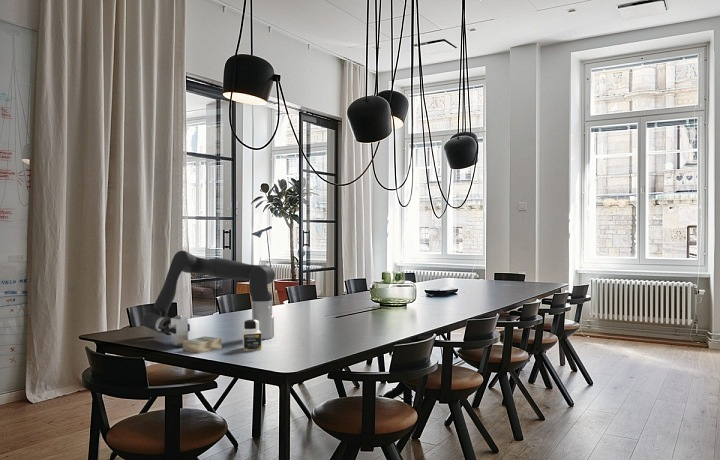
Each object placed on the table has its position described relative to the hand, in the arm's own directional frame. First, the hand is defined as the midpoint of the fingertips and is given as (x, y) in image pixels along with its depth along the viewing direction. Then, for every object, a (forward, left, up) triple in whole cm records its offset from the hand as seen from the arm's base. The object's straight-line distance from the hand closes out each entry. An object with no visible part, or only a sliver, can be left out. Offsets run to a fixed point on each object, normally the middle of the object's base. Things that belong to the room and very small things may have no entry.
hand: (181, 330), depth 248 cm
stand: (-2, +11, -7) cm, 14 cm away
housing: (-1, -3, -6) cm, 7 cm away
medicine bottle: (-14, +28, -8) cm, 32 cm away
